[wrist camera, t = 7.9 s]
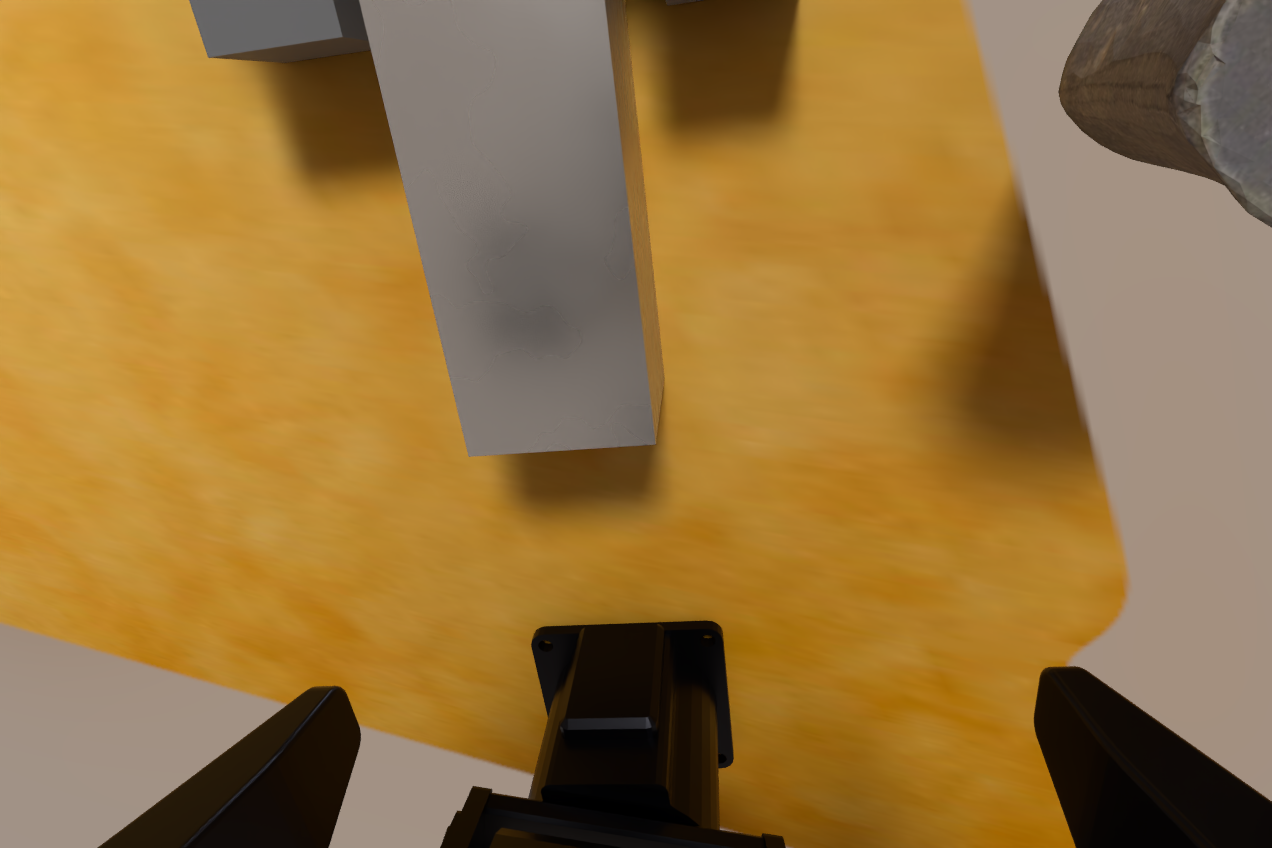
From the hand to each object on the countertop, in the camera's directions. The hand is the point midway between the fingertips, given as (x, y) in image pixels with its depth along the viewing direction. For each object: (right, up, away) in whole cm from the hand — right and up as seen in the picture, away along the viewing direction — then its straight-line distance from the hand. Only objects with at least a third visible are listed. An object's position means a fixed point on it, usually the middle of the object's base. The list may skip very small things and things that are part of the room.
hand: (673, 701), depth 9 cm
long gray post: (-3, +10, +9) cm, 14 cm away
